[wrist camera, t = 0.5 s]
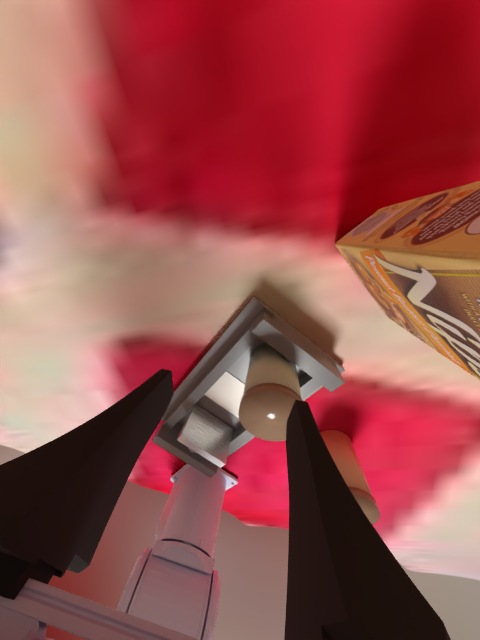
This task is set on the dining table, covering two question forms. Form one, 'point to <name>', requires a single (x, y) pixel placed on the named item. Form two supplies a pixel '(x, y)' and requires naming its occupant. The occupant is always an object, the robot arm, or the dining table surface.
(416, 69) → the dining table surface
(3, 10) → the dining table surface
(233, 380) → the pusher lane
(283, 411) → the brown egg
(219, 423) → the plate
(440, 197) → the candy box
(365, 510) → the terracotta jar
